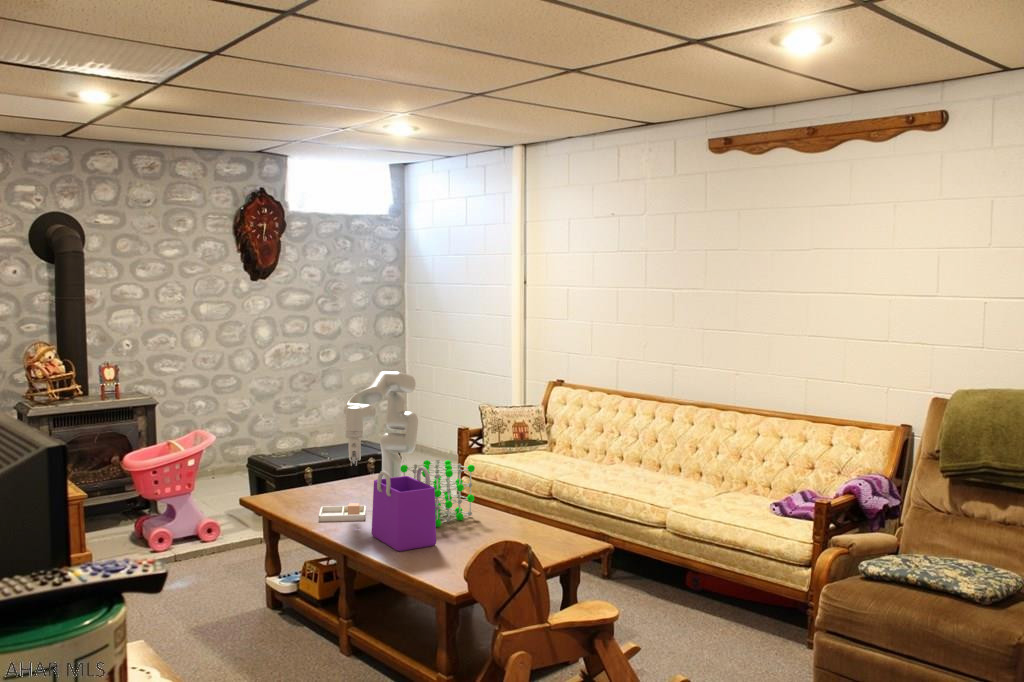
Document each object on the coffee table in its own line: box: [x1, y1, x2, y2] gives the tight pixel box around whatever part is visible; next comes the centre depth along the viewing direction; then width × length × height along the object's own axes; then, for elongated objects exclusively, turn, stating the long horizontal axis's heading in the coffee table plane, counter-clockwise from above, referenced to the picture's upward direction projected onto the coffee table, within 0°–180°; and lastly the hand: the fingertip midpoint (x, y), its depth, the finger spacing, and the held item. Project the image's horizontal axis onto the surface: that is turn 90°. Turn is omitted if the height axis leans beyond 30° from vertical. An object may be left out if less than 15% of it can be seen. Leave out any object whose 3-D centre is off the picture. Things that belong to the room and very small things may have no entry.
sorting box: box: [318, 505, 367, 522], centre depth 387 cm, size 20×16×3 cm
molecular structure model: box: [400, 458, 476, 528], centre depth 388 cm, size 24×25×24 cm
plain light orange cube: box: [347, 502, 361, 515], centre depth 388 cm, size 5×5×5 cm
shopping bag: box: [371, 466, 437, 552], centre depth 352 cm, size 28×22×30 cm
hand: (354, 472), depth 387 cm, fingers open, 9 cm apart
